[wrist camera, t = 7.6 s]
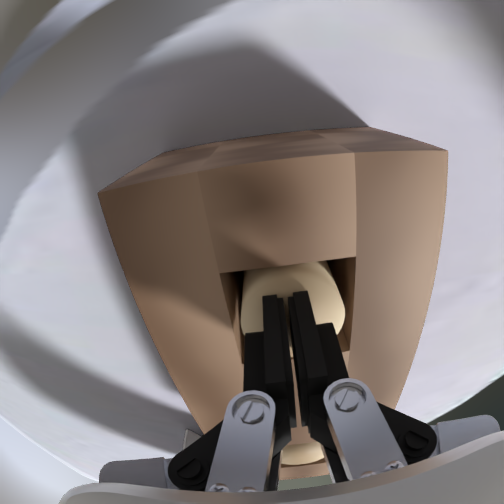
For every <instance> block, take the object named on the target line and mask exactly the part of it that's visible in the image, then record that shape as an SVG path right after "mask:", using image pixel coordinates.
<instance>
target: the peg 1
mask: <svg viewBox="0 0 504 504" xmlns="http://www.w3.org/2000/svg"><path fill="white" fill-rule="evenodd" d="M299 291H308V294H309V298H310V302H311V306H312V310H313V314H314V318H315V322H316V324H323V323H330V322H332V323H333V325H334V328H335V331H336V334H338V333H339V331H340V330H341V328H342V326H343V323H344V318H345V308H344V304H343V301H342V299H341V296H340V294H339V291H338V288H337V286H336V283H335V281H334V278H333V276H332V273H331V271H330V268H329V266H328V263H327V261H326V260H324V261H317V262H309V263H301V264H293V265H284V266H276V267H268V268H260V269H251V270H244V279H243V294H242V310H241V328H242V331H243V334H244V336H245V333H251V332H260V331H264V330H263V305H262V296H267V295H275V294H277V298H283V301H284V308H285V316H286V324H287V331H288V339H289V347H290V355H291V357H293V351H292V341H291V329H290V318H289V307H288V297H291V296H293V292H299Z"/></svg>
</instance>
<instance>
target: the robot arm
mask: <svg viewBox="0 0 504 504" xmlns="http://www.w3.org/2000/svg"><path fill="white" fill-rule="evenodd" d="M262 305H263V330H264V331H260V332H251V333H245V346H244V377H243V392H242V393H239V394H238V395H236V396H235V397H233V398H232V400H231V401H230V402H229V404H228V406H227V409H226V412H225V416H224V419H223V420H222V421H221V422H220V423H218V424H217V425H216V426H215V427H213V428H212V429H211V430H209V431H208V432H207V433H206V434H204V435H203V436H202V437H200V438H199V439H198V440H196V441H195V442H194V443H192V444H191V445H189V446H188V447H187V448H185V449H184V450H182V451H181V452H180V453H178V454H177V455H176V456H175V457H174V458H170V459H165V458H164V457H160V458H151V459H139V460H125V461H113V462H109V463H107V464H106V465H104V466H103V468H102V469H101V470H100V475H99V483H92V484H86V485H81V486H78V487H75V488H73V489H71V490H69V491H68V492H67V493H66V494H65V495H64V496H63V497H62V499H61V500H60V502H59V504H504V431H500V428H499V425H498V422H497V421H496V420H495V419H494V418H493V417H491V416H489V415H481V416H475V417H470V418H465V419H459V420H453V421H445V422H438V423H437V424H436V425H433V426H429V425H427V424H426V423H424V422H421V421H419V420H417V419H414V418H412V417H410V416H407V415H405V414H403V413H401V412H398V411H396V410H394V409H392V408H390V407H387V406H385V405H383V404H381V403H379V402H377V401H376V400H375V398H374V396H373V394H372V393H371V391H370V389H369V388H368V386H367V385H366V384H365V383H363V382H362V381H360V380H357V379H352V378H349V375H348V372H347V368H346V365H345V361H344V358H343V354H342V351H341V348H340V344H339V341H338V338H337V334H336V331H335V328H334V325H333V323H332V322H330V323H323V324H316V322H315V318H314V314H313V310H312V306H311V302H310V298H309V294H308V291H299V292H293V296H291V297H288V307H289V318H290V329H291V341H292V351H293V360H294V367H295V375H296V383H297V391H298V399H299V407H300V416H301V424H302V427H304V426H308V433H309V434H310V437H311V438H312V439H314V440H315V441H317V442H319V443H320V445H321V449H322V452H323V455H324V458H325V461H326V464H327V467H328V470H329V473H330V476H331V479H332V482H333V484H329V485H323V486H317V487H310V488H301V489H292V490H282V491H278V484H279V476H280V469H281V461H282V453H283V448H284V447H285V446H286V445H287V444H288V443H289V442H290V441H291V440H292V439H291V428H296V427H297V421H296V406H295V393H294V381H293V371H292V363H291V355H290V347H289V339H288V331H287V324H286V316H285V308H284V301H283V298H277V294H275V295H267V296H262Z"/></svg>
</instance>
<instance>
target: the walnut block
mask: <svg viewBox="0 0 504 504" xmlns="http://www.w3.org/2000/svg"><path fill="white" fill-rule="evenodd" d="M447 173H448V151H447V150H445V149H442V148H439V147H436V146H433V145H430V144H427V143H424V142H421V141H418V140H414V139H411V138H408V137H405V136H401V135H398V134H394V133H390V132H387V131H383V130H379V129H375V128H371V127H357V128H335V129H320V130H307V131H296V132H286V133H277V134H269V135H261V136H253V137H246V138H239V139H233V140H226V141H220V142H214V143H209V144H203V145H198V146H193V147H188V148H183V149H178V150H173V151H168V152H164V153H162V154H160V155H158V156H156V157H155V158H153V159H151V160H149V161H148V162H146V163H144V164H143V165H141V166H139V167H138V168H136V169H134V170H133V171H131V172H129V173H128V174H126V175H125V176H123V177H121V178H120V179H118V180H117V181H115V182H114V183H112V184H110V185H109V186H107V187H106V188H104V189H103V190H101V191H100V192H98V197H99V200H100V204H101V207H102V210H103V214H104V217H105V220H106V223H107V226H108V229H109V232H110V235H111V238H112V241H113V244H114V247H115V250H116V252H117V255H118V258H119V261H120V263H121V266H122V269H123V271H124V274H125V277H126V279H127V282H128V284H129V287H130V289H131V292H132V294H133V297H134V299H135V301H136V304H137V306H138V308H139V311H140V313H141V315H142V318H143V320H144V322H145V324H146V327H147V329H148V331H149V333H150V335H151V337H152V340H153V342H154V344H155V346H156V348H157V350H158V352H159V354H160V356H161V358H162V360H163V362H164V364H165V366H166V368H167V370H168V372H169V374H170V376H171V378H172V380H173V381H174V383H175V385H176V387H177V389H178V391H179V393H180V394H181V396H182V398H183V400H184V402H185V403H186V405H187V407H188V409H189V410H190V412H191V414H192V415H193V417H194V419H195V421H196V422H197V424H198V426H199V427H200V429H201V430H202V432H203V434H206V433H207V432H208V431H209V430H211V429H212V428H213V427H215V426H216V425H217V424H218V423H220V422H221V421H222V420H223V419H224V416H225V412H226V409H227V406H228V404H229V402H230V401H231V400H232V398H233V397H235V396H236V395H238V394H239V393H242V392H243V377H244V346H245V336H244V334H243V331H242V328H241V310H242V294H243V279H244V270H251V269H260V268H268V267H276V266H284V265H293V264H301V263H309V262H317V261H324V260H326V261H327V263H328V266H329V268H330V271H331V273H332V276H333V278H334V281H335V283H336V286H337V288H338V291H339V294H340V296H341V299H342V301H343V304H344V308H345V318H344V323H343V326H342V328H341V330H340V331H339V333H338V334H337V338H338V341H339V344H340V348H341V351H342V354H343V358H344V361H345V365H346V368H347V372H348V375H349V378H352V379H357V380H360V381H362V382H363V383H365V384H366V385H367V386H368V388H369V389H370V391H371V393H372V394H373V396H374V398H375V400H376V401H377V402H379V403H381V404H383V405H385V406H387V407H390V408H392V409H394V410H395V407H396V405H397V403H398V400H399V398H400V395H401V392H402V390H403V387H404V385H405V382H406V379H407V376H408V374H409V371H410V368H411V365H412V362H413V359H414V356H415V353H416V349H417V346H418V343H419V340H420V336H421V333H422V329H423V326H424V322H425V318H426V314H427V310H428V306H429V302H430V298H431V293H432V289H433V284H434V279H435V274H436V269H437V263H438V258H439V252H440V245H441V238H442V231H443V223H444V214H445V203H446V191H447ZM291 363H292V371H293V381H294V393H295V406H296V421H297V427H296V428H291V439H292V440H291V441H290V442H289V443H288V444H287V445H294V444H302V443H310V442H317V441H315V440H314V439H312V438H311V437H310V434H309V433H308V426H304V427H302V424H301V416H300V407H299V399H298V391H297V383H296V375H295V367H294V360H293V357H291ZM327 474H330V473H329V470H328V467H327V464H326V461H325V458H322V459H320V460H318V461H315V462H311V463H307V464H300V465H288V464H282V463H281V469H280V476H279V480H286V479H296V478H305V477H312V476H320V475H327Z"/></svg>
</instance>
